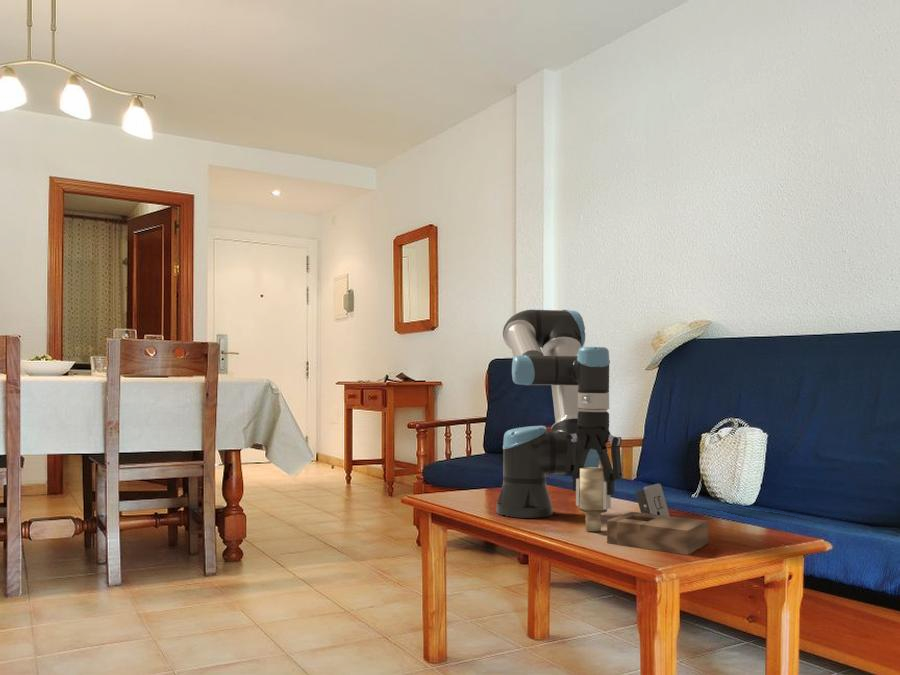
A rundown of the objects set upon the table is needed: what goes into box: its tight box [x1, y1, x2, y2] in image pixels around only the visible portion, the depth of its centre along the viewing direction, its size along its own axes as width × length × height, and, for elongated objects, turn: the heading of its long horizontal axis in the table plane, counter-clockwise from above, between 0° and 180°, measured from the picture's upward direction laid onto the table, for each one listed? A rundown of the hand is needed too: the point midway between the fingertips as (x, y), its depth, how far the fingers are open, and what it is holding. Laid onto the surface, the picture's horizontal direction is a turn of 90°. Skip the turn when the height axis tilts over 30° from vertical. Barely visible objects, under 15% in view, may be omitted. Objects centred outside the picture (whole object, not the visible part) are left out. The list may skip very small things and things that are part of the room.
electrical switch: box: [635, 483, 670, 516], centre depth 193 cm, size 9×5×9 cm, turn 141°
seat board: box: [606, 511, 709, 556], centre depth 165 cm, size 18×14×5 cm
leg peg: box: [579, 467, 608, 532], centre depth 178 cm, size 6×6×14 cm
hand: (593, 506), depth 178 cm, fingers closed on leg peg, 6 cm apart
